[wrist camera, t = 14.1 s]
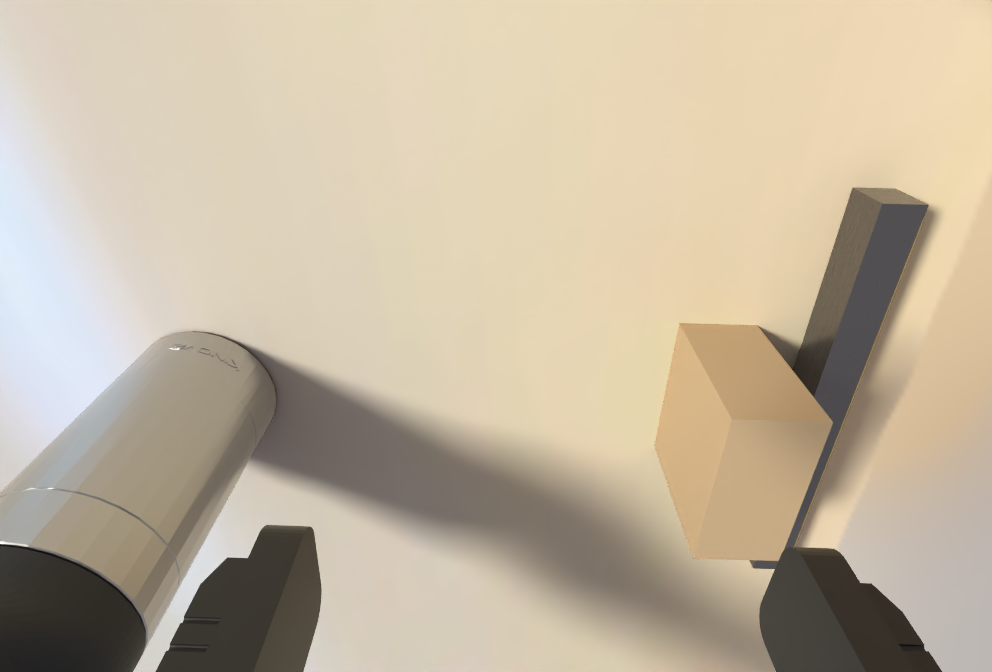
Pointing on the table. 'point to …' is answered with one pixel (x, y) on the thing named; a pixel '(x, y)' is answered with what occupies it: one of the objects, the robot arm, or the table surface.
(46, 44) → the table surface
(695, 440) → the carton
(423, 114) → the table surface
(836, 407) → the rail
